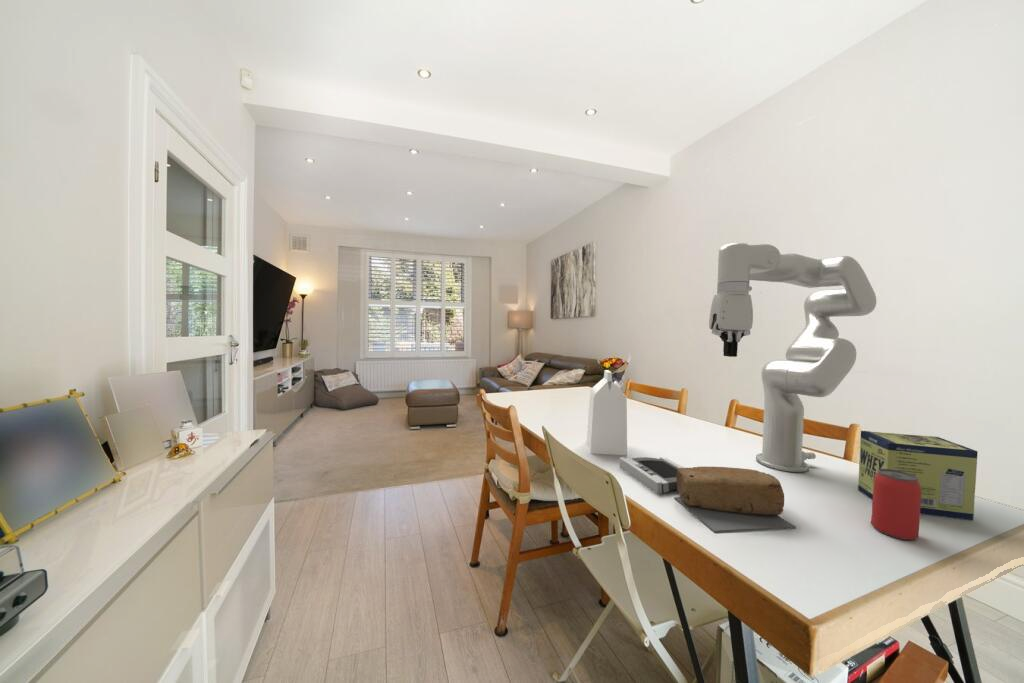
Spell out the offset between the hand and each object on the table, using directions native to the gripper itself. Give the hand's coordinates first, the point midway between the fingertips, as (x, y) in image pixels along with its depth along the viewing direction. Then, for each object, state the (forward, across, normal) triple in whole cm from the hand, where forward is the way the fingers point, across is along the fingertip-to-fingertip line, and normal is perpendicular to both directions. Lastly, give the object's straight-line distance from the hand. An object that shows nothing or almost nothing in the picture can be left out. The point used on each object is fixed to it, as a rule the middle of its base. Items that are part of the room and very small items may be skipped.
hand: (730, 356), depth 99 cm
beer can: (+33, -14, +30) cm, 47 cm away
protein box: (+33, -32, +20) cm, 50 cm away
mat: (+33, +14, +20) cm, 41 cm away
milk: (+33, +26, -23) cm, 48 cm away
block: (+29, +3, +20) cm, 35 cm away
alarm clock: (+34, +19, +1) cm, 39 cm away
